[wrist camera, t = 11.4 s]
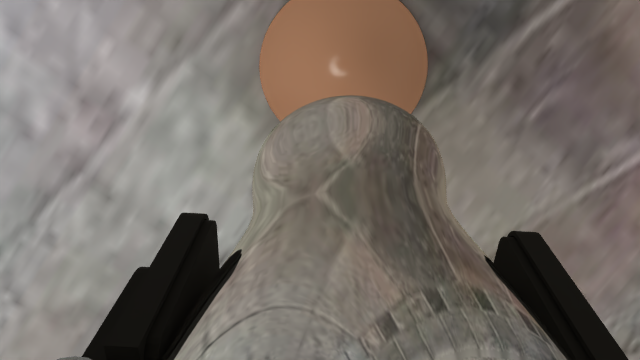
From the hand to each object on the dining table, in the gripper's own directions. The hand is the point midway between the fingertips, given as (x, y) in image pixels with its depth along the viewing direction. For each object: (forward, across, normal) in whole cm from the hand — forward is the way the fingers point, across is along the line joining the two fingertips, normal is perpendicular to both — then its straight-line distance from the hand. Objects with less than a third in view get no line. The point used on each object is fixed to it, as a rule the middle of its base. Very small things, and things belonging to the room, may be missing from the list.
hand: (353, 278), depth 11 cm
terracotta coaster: (+20, 0, 0) cm, 20 cm away
